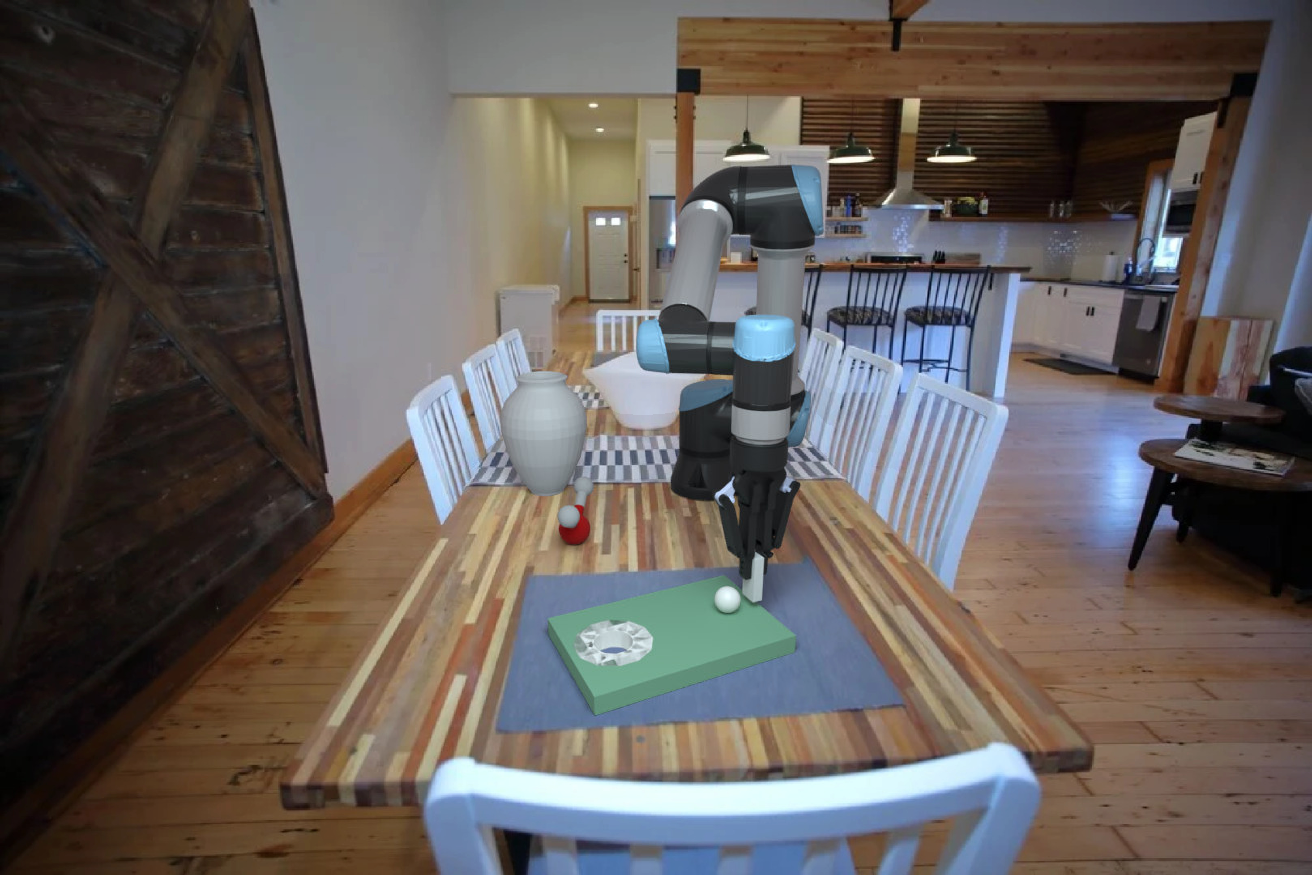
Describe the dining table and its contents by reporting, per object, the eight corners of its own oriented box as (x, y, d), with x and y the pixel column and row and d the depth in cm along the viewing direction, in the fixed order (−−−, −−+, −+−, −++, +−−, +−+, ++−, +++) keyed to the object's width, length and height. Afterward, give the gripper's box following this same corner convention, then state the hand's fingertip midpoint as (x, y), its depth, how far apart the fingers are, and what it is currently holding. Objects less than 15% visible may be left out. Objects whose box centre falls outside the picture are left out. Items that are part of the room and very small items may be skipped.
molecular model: (581, 566, 111) (579, 510, 108) (548, 565, 111) (545, 509, 108) (598, 523, 127) (597, 473, 125) (569, 522, 128) (567, 472, 125)
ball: (731, 601, 95) (732, 579, 94) (745, 614, 92) (746, 591, 91) (709, 607, 94) (709, 584, 93) (722, 620, 91) (723, 596, 90)
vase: (489, 488, 145) (480, 375, 137) (558, 470, 156) (553, 364, 149) (534, 513, 132) (527, 389, 125) (605, 490, 143) (602, 376, 136)
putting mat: (723, 589, 104) (724, 574, 103) (794, 652, 88) (796, 635, 87) (548, 634, 92) (547, 618, 91) (594, 715, 76) (594, 697, 76)
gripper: (783, 423, 93) (774, 575, 100) (701, 434, 88) (698, 594, 95) (817, 437, 87) (806, 598, 94) (732, 450, 81) (726, 621, 88)
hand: (752, 596), depth 94 cm, fingers closed
